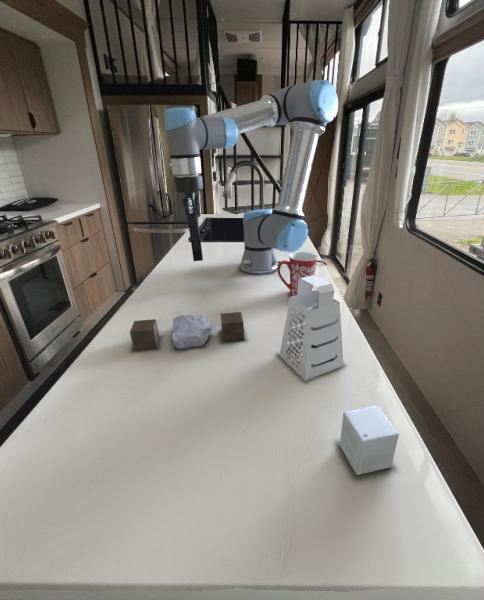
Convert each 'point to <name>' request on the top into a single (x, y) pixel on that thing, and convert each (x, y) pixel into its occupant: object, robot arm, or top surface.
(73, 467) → the top surface
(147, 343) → the walnut block
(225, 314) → the walnut block
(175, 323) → the stone block
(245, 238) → the robot arm
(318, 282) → the grater
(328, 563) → the top surface
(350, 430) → the product box
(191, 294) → the top surface
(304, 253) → the mug
